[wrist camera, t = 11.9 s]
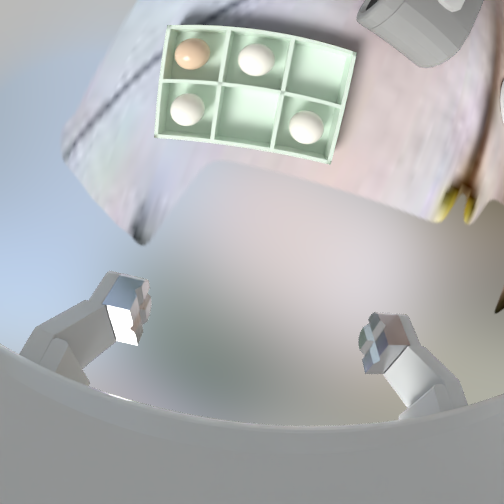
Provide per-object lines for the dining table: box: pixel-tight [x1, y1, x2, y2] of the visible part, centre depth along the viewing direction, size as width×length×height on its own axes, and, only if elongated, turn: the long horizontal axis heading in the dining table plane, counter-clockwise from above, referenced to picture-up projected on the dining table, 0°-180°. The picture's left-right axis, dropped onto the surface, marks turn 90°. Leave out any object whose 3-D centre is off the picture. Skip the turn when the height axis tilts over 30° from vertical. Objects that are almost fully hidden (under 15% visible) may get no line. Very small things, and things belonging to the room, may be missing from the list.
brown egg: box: [175, 38, 210, 70], centre depth 27 cm, size 4×4×4 cm
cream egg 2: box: [238, 43, 275, 76], centre depth 27 cm, size 4×4×4 cm
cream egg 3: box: [289, 110, 324, 144], centre depth 31 cm, size 4×4×4 cm
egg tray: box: [154, 25, 357, 164], centre depth 30 cm, size 23×16×4 cm
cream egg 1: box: [170, 93, 205, 126], centre depth 31 cm, size 4×4×4 cm
